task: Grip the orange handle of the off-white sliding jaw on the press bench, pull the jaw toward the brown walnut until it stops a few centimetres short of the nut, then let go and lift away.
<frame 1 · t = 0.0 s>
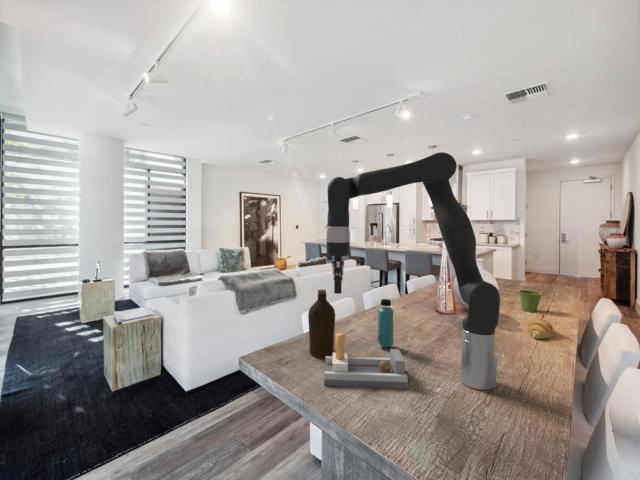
hand: (337, 290, 97), 29 cm above the table, tool pointing down, fingers open, 8 cm apart
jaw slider: (340, 352, 100), point 8 cm above the table, slide at 0.0 cm
plant pot: (529, 311, 177), on the table
croissant: (539, 334, 139), on the table
olive oil: (321, 353, 118), on the table
beverage bottle: (385, 347, 123), on the table
walnut: (384, 366, 99), in the press bench, point 4 cm above the table
press bench: (363, 375, 100), on the table
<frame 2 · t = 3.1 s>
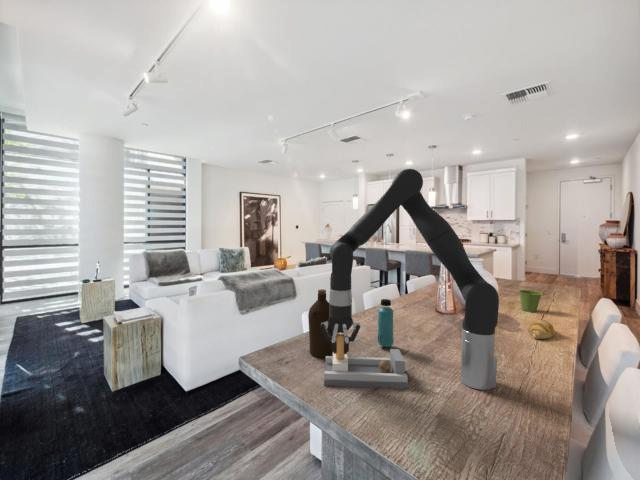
hand: (340, 352, 100), 8 cm above the table, tool pointing down, fingers closed on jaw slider, 3 cm apart
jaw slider: (340, 352, 100), point 8 cm above the table, slide at 0.0 cm, touching gripper
everything else where it was.
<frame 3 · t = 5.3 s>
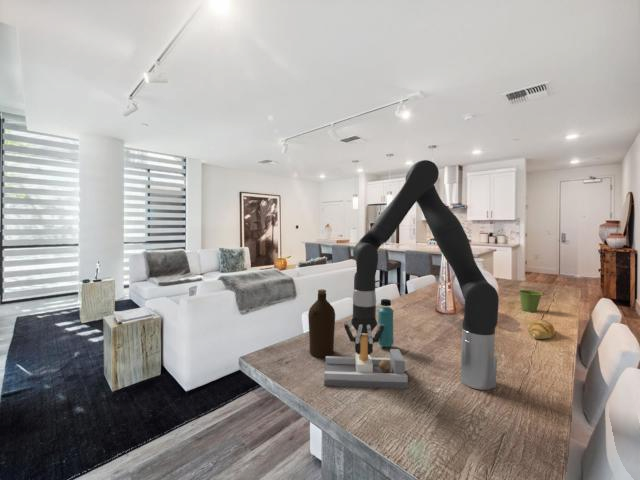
hand: (363, 353, 99), 8 cm above the table, tool pointing down, fingers closed on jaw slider, 3 cm apart
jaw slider: (363, 352, 99), point 8 cm above the table, slide at 7.9 cm, touching gripper
everything else where it was.
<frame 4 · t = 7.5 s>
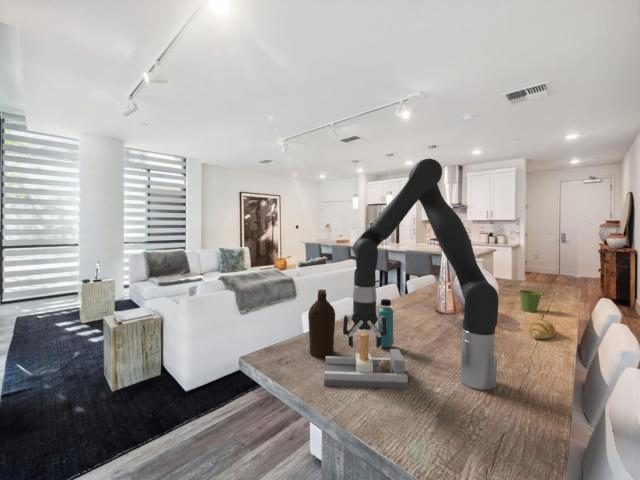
hand: (364, 346, 99), 10 cm above the table, tool pointing down, fingers open, 8 cm apart
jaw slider: (363, 352, 99), point 8 cm above the table, slide at 8.0 cm
everything else where it was.
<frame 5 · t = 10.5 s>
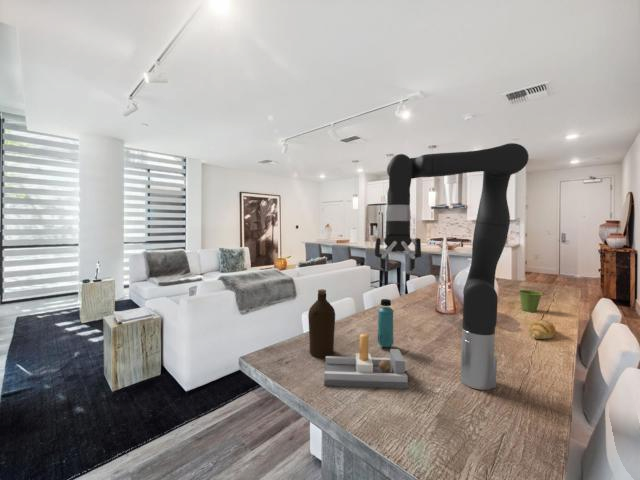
hand: (397, 270, 95), 36 cm above the table, tool pointing down, fingers open, 8 cm apart
nothing on the table moved.
at the end: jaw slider slide at 8.0 cm; the gripper is holding nothing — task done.
